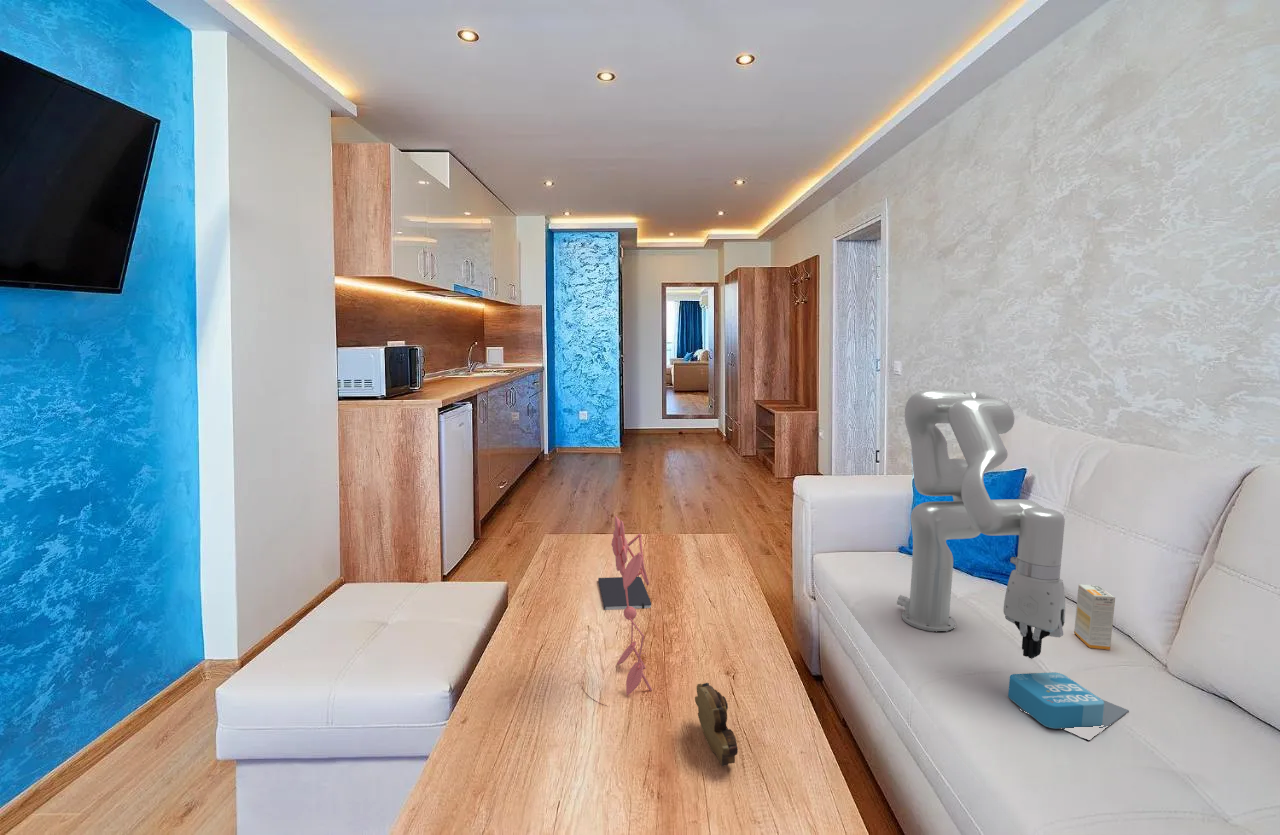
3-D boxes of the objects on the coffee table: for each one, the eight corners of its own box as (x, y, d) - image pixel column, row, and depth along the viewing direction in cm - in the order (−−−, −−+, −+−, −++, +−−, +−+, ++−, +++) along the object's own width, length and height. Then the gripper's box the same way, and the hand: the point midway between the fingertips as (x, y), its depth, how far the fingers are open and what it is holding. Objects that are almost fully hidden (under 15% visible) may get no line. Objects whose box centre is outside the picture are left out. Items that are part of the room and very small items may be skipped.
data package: (1060, 671, 132) (1109, 703, 120) (1058, 692, 132) (1106, 726, 121) (1005, 673, 131) (1049, 706, 119) (1004, 694, 131) (1047, 729, 119)
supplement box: (1111, 650, 152) (1116, 597, 151) (1088, 648, 153) (1094, 595, 152) (1094, 635, 160) (1099, 584, 159) (1072, 633, 161) (1077, 583, 160)
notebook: (598, 582, 191) (604, 612, 170) (598, 577, 191) (604, 606, 170) (640, 581, 193) (652, 610, 172) (640, 576, 193) (652, 604, 172)
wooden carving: (747, 773, 106) (749, 716, 105) (721, 778, 104) (723, 720, 103) (708, 718, 121) (710, 667, 120) (686, 721, 120) (687, 670, 119)
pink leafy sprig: (643, 649, 148) (643, 500, 144) (662, 713, 123) (662, 534, 119) (576, 654, 146) (574, 503, 142) (581, 719, 121) (579, 538, 117)
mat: (1019, 710, 126) (1019, 708, 126) (1061, 684, 136) (1061, 683, 136) (1088, 741, 116) (1088, 740, 116) (1128, 711, 126) (1129, 710, 126)
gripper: (991, 562, 135) (984, 646, 136) (1070, 584, 122) (1062, 676, 124) (1009, 556, 139) (1002, 637, 141) (1088, 577, 126) (1079, 666, 128)
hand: (1030, 655), depth 132 cm, fingers closed
